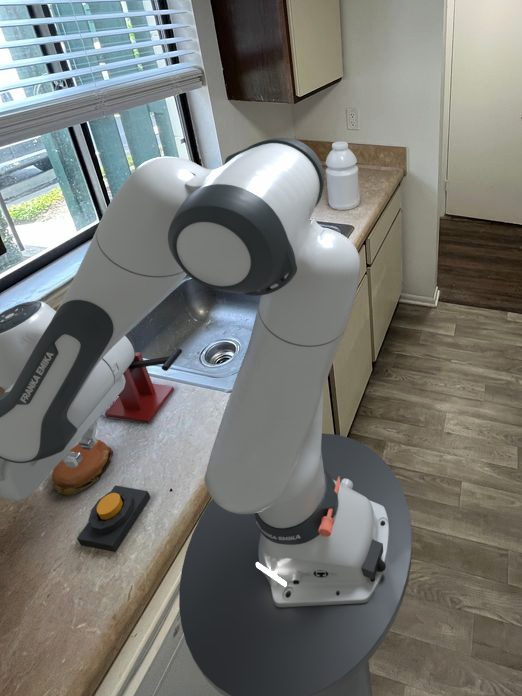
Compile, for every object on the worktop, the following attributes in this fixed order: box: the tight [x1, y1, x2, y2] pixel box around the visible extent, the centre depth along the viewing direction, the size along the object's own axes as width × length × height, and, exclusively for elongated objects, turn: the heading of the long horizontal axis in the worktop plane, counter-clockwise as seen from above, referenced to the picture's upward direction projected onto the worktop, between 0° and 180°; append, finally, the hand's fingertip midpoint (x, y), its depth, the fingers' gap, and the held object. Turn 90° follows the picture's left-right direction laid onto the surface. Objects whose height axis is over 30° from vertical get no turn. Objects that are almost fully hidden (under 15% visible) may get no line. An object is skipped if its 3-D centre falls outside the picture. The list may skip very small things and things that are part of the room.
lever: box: [128, 347, 183, 373], centre depth 96 cm, size 15×5×2 cm, turn 80°
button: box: [97, 493, 123, 520], centre depth 78 cm, size 4×4×2 cm
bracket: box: [103, 351, 175, 424], centre depth 100 cm, size 11×9×14 cm
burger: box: [51, 438, 114, 496], centre depth 87 cm, size 10×9×5 cm
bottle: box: [324, 140, 361, 211], centre depth 187 cm, size 14×14×28 cm
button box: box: [76, 484, 151, 553], centre depth 79 cm, size 7×9×4 cm
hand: (82, 454), depth 72 cm, fingers closed
